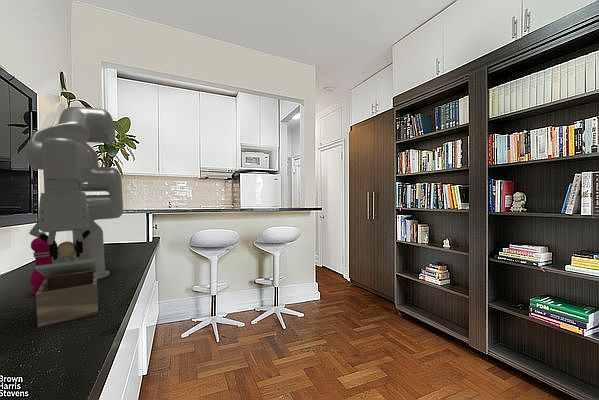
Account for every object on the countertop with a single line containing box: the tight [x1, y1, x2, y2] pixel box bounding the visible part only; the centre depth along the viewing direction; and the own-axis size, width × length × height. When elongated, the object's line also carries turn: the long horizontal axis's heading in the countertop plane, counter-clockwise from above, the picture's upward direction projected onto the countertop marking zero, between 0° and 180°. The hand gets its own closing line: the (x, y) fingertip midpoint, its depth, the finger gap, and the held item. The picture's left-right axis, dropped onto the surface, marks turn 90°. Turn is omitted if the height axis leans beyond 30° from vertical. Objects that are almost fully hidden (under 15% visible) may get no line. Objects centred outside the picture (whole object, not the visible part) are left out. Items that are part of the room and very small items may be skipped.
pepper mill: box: [29, 231, 60, 297], centre depth 98 cm, size 7×7×20 cm
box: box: [35, 270, 99, 328], centre depth 82 cm, size 18×12×8 cm, turn 35°
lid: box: [34, 241, 96, 277], centre depth 83 cm, size 18×12×6 cm, turn 34°
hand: (67, 257), depth 78 cm, fingers closed on lid, 4 cm apart
